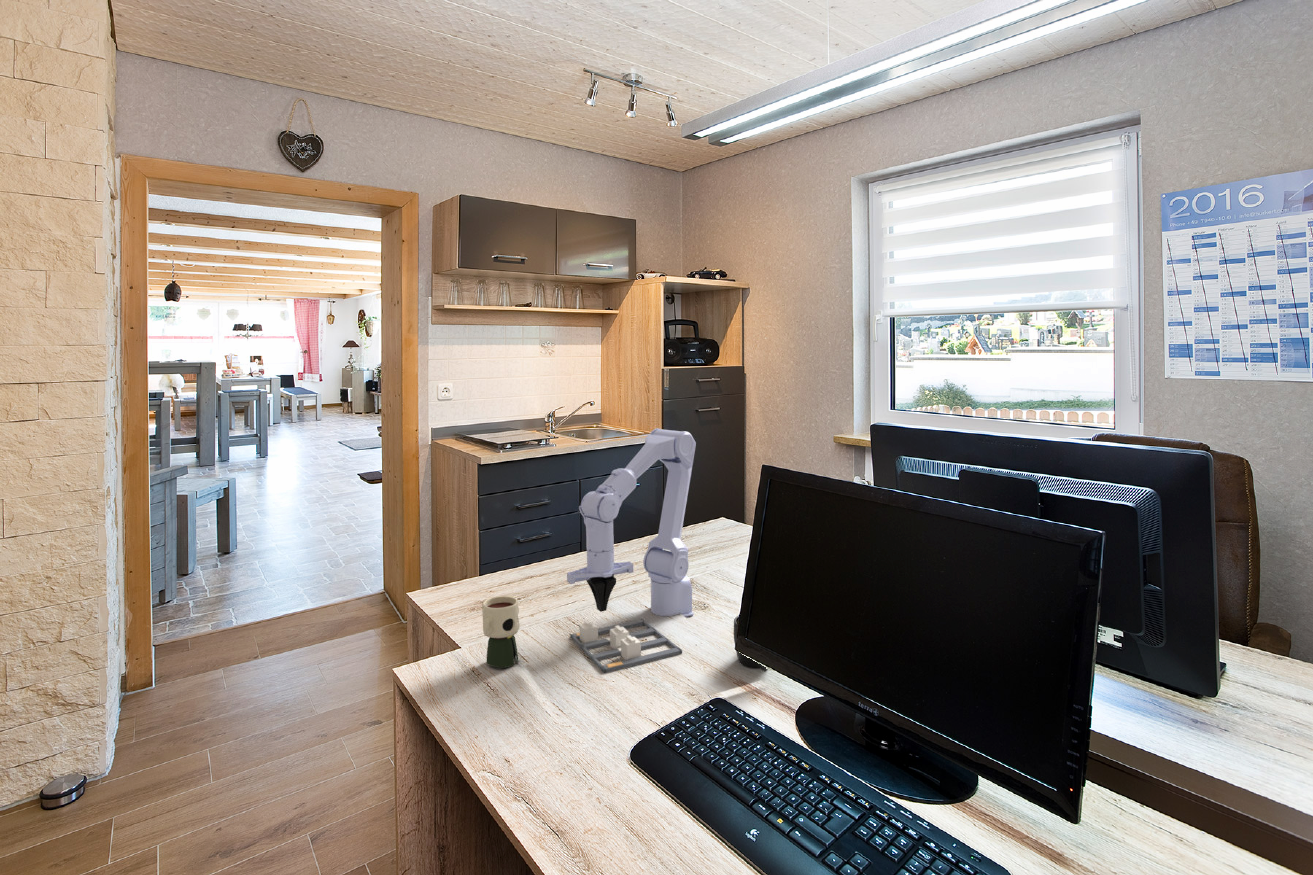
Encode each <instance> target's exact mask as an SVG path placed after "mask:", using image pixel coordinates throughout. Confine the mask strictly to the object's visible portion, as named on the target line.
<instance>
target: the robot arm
mask: <svg viewBox="0 0 1313 875" xmlns="http://www.w3.org/2000/svg"><path fill="white" fill-rule="evenodd" d="M644 441H645V442H644V445H643V446H642V447H641V449H640V450H639V451H638V452H637V454H635V455H634V457H633V458H632V459H631V460H630V461H629V463H628V464H627V465H626V466H625V467H624V468H623V467H622V468H618V467H617V469H613V470H612V471H611V474H610V475H609V476H608V477H607V478H606V479H605V480H604V482H603V483H602V484H600V485H598V487H597V489H596V490H594V491H593V490H592V491H589V492H587V493H586V494H585V495H584V496H583V498H582V499H581V502H580V505H579V506H578V510H579V513H580V514H581V516H582V518H583V523H584V525H585V531H586V532H585V534H586V538H585V539H586V540H585V541H586V566H585V567H582V568H579V569H577V570H572V571H570V572H566V581H567V583H568V584H569V585H574V584H576V583H579V582H584V581H586V582H587V584H588V586H589V588H590V590H591V592H592V595H593V597H594V601H595V605H596V609H597V610H598V611H599V612H600V613H601V612H605V611H607V608H608V604H609V600H610V597H611V594H612V592H613V591H614V590H613V589H614V587H615V586H616V585H617V578H616V577H615V575H621V574H622V575H623V574H633V573H634V563H632V562H631V561H625V562H624V561H623V562H615V553H614V552H615V550H614V549H615V547H614V543H615V542H614V520H615V519H616V518H617V517H618V514H619V511H620V508H621V506H622V504H623V501H624V500H626V498H627V497H628V496H630V494H631V493H632V492H633V491H634V490H635V489H636V488H637V479H638V478H640V477H641V476H642V475H643V474H644V473H645V472H646V471H647V470H648V469H649V468H650V467H651V466H653V465H654V464H655V463H656V462H657V461H660V462H662V463H663V464H664V466H665V467H666V469H667V471H668V472H667V479H666V485H665V492H664V496H663V501H662V502H663V503H662V509H661V514H660V522H659V527H658V534H657V536H655V537H654V538H653V539H652V540H649V542H648V546H647V550H646V552H645V553H644V556H643V562H642V563H643V565H642V566H643V569H644V570H645V572H647V575H648V578H650V612H651V613H652V614H654V615H656V616H661V617H671V616H676V615H679V614H681V616H682V615H683V617H690V616H694V615H695V613H694V612H693V587H692V586H693V585H692V581H691V579H690V578H689V576H687V573H688V571H689V566H690V564H689V559H688V558H689V549H688V547H687V546H686V544H685V543H684V542H683V541H682V539H681V538H682V532H683V526H684V520H685V519H684V518H685V514H686V506H687V502H688V494H689V489H690V484H691V483H690V482H691V478H692V470H693V465H694V459H695V453H696V452H695V451H696V446H697V445H696V444H697V442H696V441H695V438H694V437H693V435H692V434H691V433H690V432H689V431H685V430H684V431H683V430H681V431H679V430H670V429H662V428H659V427H658V428H654V429H652V430H651V432H650V433H649V434H648V435H647V436H645V440H644Z"/></svg>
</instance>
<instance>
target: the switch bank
mask: <svg viewBox="0 0 1313 875" xmlns="http://www.w3.org/2000/svg"><path fill="white" fill-rule="evenodd" d="M617 625H619V626H620V627H624V628H625V629H626V630H627V629H631V628H632V629H633V628H635V627H636V628H637V627H641V626H644V627H645V629H641V630H637V631H636V630H635V631H631V632H629V635H630V636H631V637H636V638H637V639H641V638H645V637H649V636H652V635H655V636H657V637H658V638H655V639H650V640H648V641H642V642H641V651H643V650H648V649H651V648H656V647H660V646H664V645H668V646H669V647H671V648H668V649H665V650H661V651H657V652H652V653H649V654H644V655H641V656H640V657H636V658H632V659H628V660H625V659H624V660H620V661H617V662H613V663H608V664H604V665H603V664H602V663H601V662H600V661H602V660H607V659H611V658H614V657H619V656H621V648H617V649H613V648H612V649H609V650H605V651H601V652H597V653H591V651H590V650H592V649H597V648H601V647H605V646H610V637H606V638H605V637H604V638H601V639H598V640H596V641H592V642H587V643H582V642H581V641H580V634H579V632H577V633H571V634H570V635H569V638H570V639H571V640H572V641H573V642H574V644H575V645H576V646H577V647H579V649H580V650H581V651H582V652H583V653H584V654H585V655H586V657H587V658H589V659H590V660H591V662H593V663H594V664H595V666H596V667H597V668H598V669H599V670H600V671H601V672H602V673H603V674H607V673H612V672H614V671H619V670H623V669H627V668H630V667H635V666H638V665H642V664H646V663H649V662H654V661H658V660H662V659H666V658H669V657H674V656H678V655H681V654H683V650H682V649H681V648H680V646H677V644H675V643H674V642H672V641H671V639H668V638H667V636H665V635H664V634H662V633H661V632H660V631H658V630H657V629H656V628H655V627H654V626H652V625H651V624H650V623H648V622H647V621H646V620H644V619H643V618H640V619H636V620H632V621H627V622H622V623H617V624H613V625H608V626H604V627H600V628H599V627H598V636H601V635H604V634H610V629H614V628H615V626H617Z"/></svg>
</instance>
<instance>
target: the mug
mask: <svg viewBox="0 0 1313 875" xmlns="http://www.w3.org/2000/svg"><path fill="white" fill-rule="evenodd" d="M738 619H739V615H736V617H735V618H734V619H733V640H734V642H733V643H734V647H735V652H736V655H737V659H738V662H739V664H740V665H741V666H743V667H745V668H749V669H753V670H754V669H760V670H762V671H763V672H767V670H768V669H766V667H764V666H762V665H761V664H758V663H757V662H755V661H753V660H752V659H750V658H747V657H746V656H744V655H742V654H741V653H739V652H738V651H737V650H736V642H737V621H738Z"/></svg>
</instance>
